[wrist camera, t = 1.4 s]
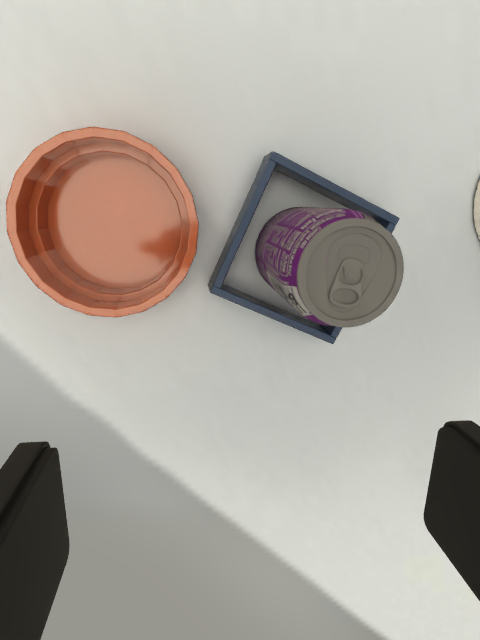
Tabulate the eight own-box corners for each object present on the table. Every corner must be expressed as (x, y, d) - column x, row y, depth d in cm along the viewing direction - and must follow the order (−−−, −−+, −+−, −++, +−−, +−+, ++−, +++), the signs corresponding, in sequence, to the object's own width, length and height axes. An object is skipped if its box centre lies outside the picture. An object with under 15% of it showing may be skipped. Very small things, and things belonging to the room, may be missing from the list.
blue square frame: (382, 217, 34) (400, 218, 31) (321, 333, 36) (333, 344, 34) (264, 155, 32) (273, 150, 29) (207, 285, 34) (209, 292, 31)
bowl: (220, 184, 32) (226, 181, 27) (161, 322, 34) (157, 341, 29) (64, 108, 29) (41, 90, 24) (12, 264, 31) (-18, 275, 27)
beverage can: (324, 297, 35) (391, 342, 24) (246, 284, 34) (277, 326, 23) (345, 216, 34) (427, 222, 22) (263, 199, 32) (306, 197, 21)
